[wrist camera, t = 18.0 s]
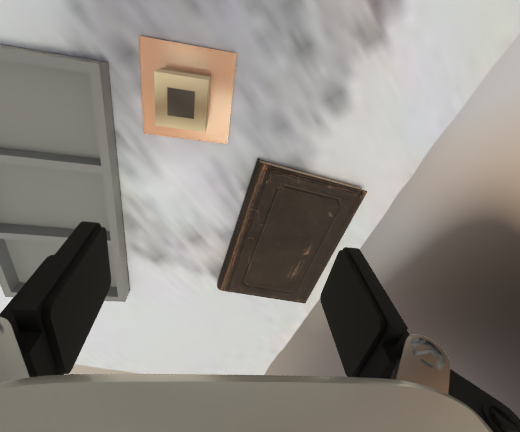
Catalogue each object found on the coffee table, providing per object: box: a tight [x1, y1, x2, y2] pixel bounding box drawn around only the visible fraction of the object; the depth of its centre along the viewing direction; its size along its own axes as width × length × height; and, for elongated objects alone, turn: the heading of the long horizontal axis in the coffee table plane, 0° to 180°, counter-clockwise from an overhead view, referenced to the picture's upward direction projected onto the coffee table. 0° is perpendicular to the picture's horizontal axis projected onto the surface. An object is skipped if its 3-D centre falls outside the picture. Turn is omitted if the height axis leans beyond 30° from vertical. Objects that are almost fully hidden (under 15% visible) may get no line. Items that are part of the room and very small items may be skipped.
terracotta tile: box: [139, 36, 237, 144], centre depth 33 cm, size 10×10×1 cm
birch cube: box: [154, 67, 211, 132], centre depth 30 cm, size 5×5×5 cm
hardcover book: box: [217, 159, 367, 303], centre depth 45 cm, size 16×23×2 cm
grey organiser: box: [0, 45, 130, 302], centre depth 37 cm, size 34×17×2 cm, turn 171°
